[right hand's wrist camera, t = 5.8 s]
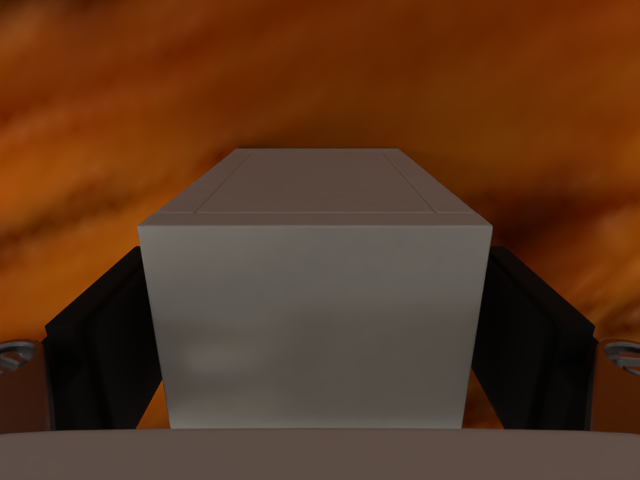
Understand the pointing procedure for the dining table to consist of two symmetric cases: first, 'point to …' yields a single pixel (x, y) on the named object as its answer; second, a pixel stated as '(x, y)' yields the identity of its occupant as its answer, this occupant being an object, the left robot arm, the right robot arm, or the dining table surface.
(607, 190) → the dining table surface
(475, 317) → the cabinet
